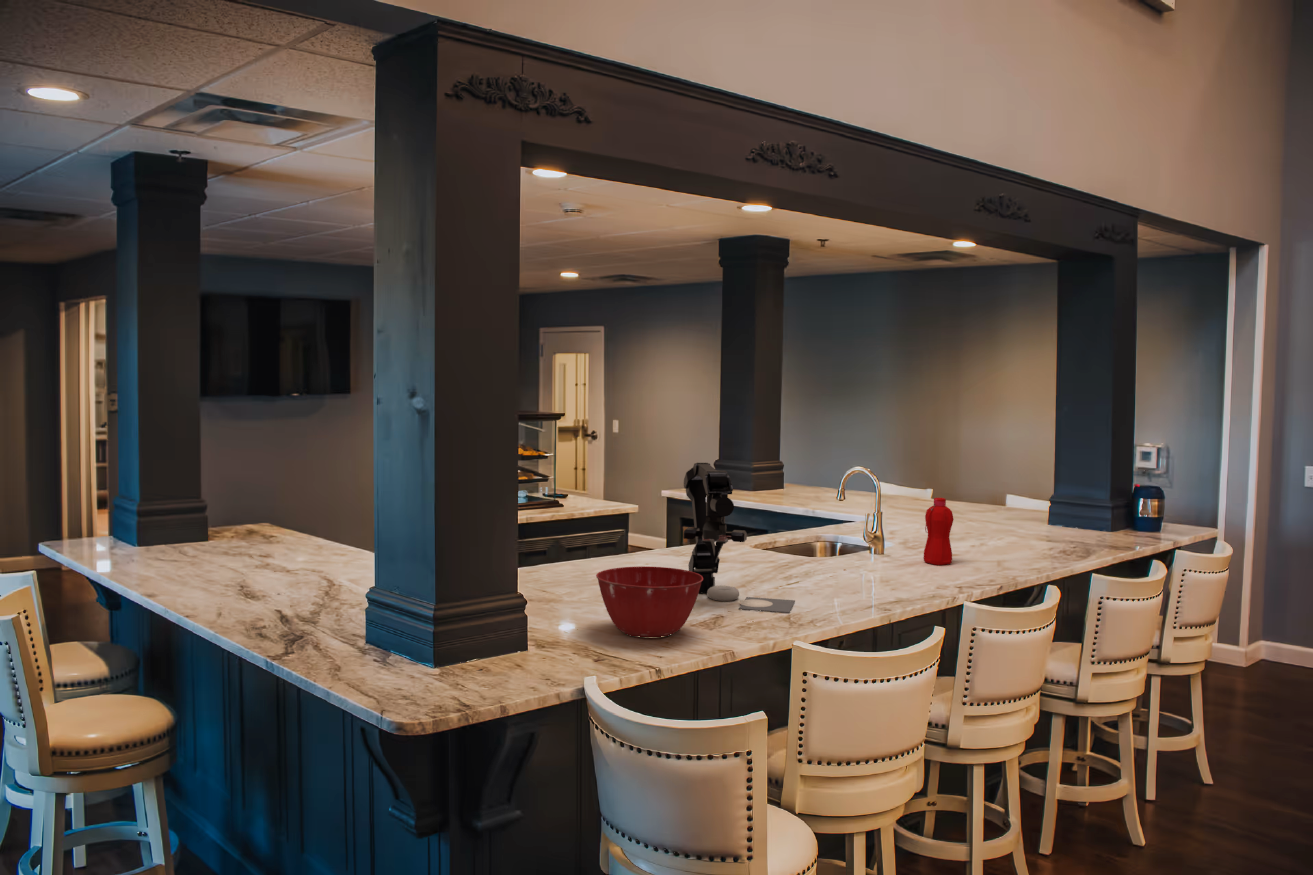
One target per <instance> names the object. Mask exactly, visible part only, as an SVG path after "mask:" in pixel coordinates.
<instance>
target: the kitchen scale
mask: <svg viewBox="0 0 1313 875" xmlns="http://www.w3.org/2000/svg"><path fill="white" fill-rule="evenodd" d="M795 602H796V600H795V599H794V600H793V599H781V598H768V597H767V598H766V597H754V596H753V597H751V596H746V597H745V599H743V600H740V601H739V603H738V604H740V606H739V608H738V610H739V609H742V610H741V611H750V610H761V611H760V612H763V611H770V612H769V613H776V612H781V613H780V614H791V612H790V611H792V609H793V607H794V605H795Z"/></svg>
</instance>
